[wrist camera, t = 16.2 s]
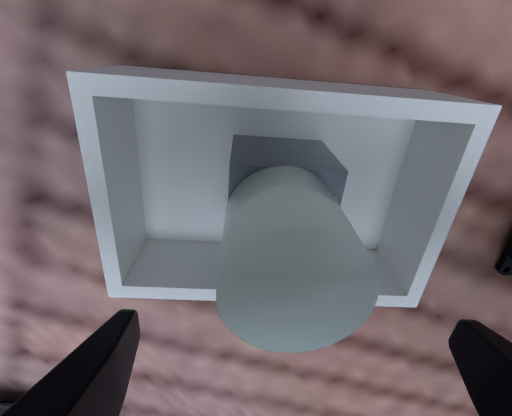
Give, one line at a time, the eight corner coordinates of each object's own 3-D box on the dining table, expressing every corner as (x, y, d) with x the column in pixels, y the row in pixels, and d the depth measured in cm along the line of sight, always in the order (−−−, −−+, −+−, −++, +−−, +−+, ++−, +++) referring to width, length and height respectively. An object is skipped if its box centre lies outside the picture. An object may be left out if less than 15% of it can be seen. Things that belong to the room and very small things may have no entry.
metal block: (321, 140, 17) (348, 171, 13) (308, 217, 20) (326, 266, 15) (233, 134, 17) (229, 163, 13) (229, 213, 19) (225, 262, 15)
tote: (429, 90, 17) (502, 105, 12) (378, 250, 22) (416, 307, 17) (119, 65, 16) (65, 70, 11) (139, 240, 21) (108, 297, 16)
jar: (346, 169, 13) (400, 232, 8) (325, 265, 15) (358, 354, 11) (226, 162, 12) (217, 223, 8) (223, 260, 15) (214, 351, 10)
